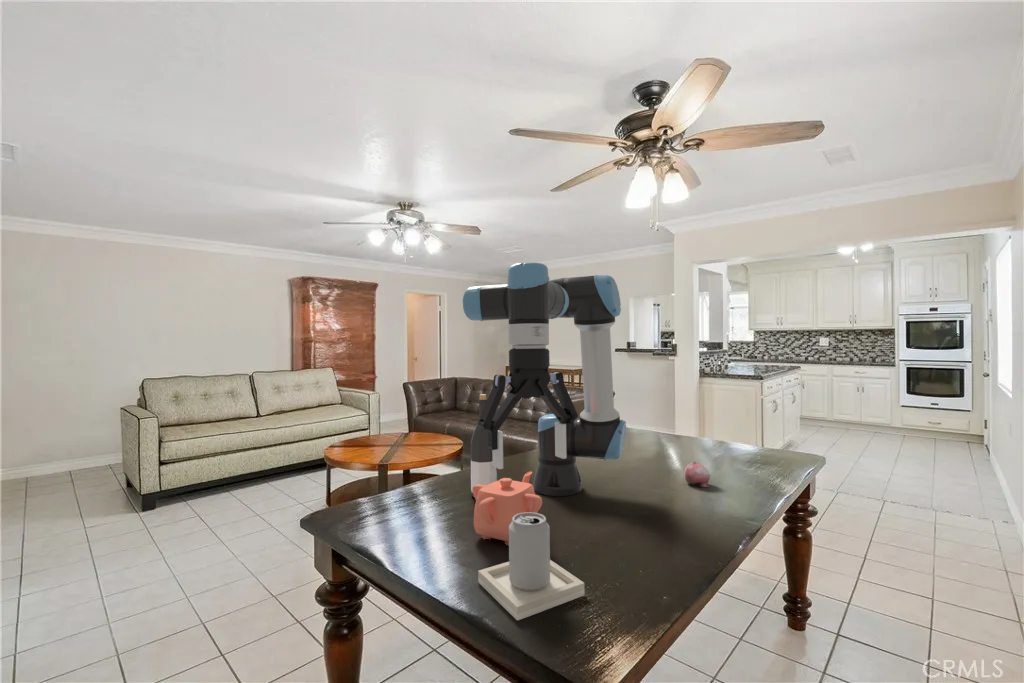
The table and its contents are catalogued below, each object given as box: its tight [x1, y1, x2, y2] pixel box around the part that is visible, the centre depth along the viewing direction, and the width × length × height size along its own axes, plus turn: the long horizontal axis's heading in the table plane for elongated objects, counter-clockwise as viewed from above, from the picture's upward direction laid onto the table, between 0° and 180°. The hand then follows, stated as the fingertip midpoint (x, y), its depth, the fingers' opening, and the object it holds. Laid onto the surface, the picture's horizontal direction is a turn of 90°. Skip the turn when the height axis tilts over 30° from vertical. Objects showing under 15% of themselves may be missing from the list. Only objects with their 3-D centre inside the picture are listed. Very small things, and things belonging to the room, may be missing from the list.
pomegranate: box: [683, 461, 711, 488], centre depth 142 cm, size 8×8×7 cm
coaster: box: [477, 559, 586, 621], centre depth 83 cm, size 14×14×2 cm
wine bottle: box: [470, 393, 498, 497], centre depth 135 cm, size 8×8×30 cm
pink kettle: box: [472, 471, 543, 547], centre depth 107 cm, size 17×16×13 cm
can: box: [508, 512, 551, 592], centre depth 83 cm, size 8×8×12 cm
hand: (530, 462), depth 84 cm, fingers open, 13 cm apart
